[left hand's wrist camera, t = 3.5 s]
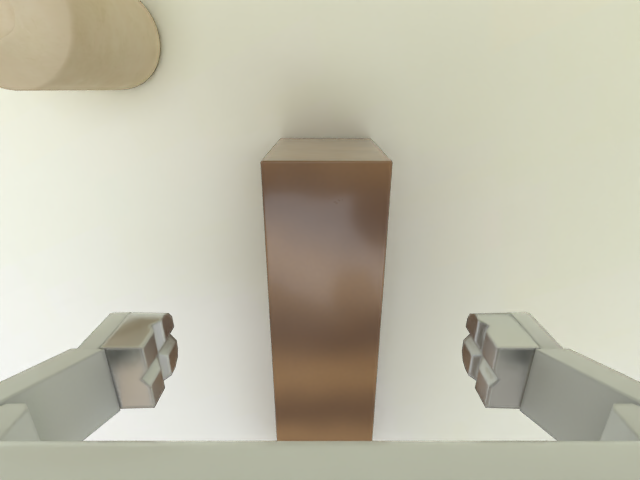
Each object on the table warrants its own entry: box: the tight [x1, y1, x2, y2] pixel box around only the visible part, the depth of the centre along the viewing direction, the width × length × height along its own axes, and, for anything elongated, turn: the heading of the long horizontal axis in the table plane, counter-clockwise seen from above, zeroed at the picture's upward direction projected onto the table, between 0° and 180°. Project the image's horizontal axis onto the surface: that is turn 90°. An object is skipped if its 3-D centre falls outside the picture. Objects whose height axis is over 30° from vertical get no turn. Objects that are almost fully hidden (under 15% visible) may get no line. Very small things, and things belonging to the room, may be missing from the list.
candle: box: [0, 0, 160, 91], centre depth 17 cm, size 6×6×10 cm
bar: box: [261, 138, 392, 441], centre depth 25 cm, size 27×6×8 cm, turn 0°
